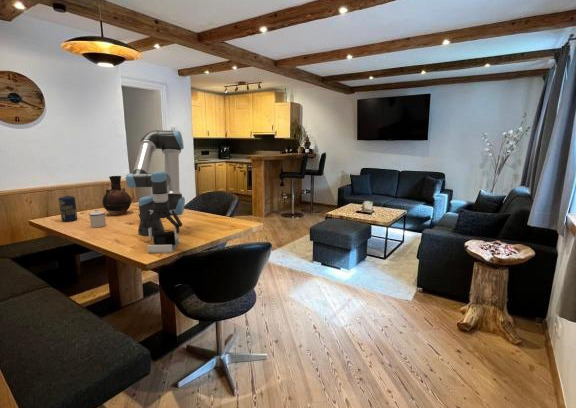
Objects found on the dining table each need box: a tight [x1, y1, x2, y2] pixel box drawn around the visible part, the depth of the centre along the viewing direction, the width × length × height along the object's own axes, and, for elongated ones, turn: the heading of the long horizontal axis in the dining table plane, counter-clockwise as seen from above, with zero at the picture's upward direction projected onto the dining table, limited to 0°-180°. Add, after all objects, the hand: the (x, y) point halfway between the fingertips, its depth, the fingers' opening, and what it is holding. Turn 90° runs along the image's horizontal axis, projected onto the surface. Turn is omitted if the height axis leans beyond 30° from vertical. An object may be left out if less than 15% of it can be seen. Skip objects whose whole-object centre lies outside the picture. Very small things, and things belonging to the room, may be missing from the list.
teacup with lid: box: [88, 208, 107, 229], centre depth 212 cm, size 12×9×12 cm
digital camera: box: [152, 230, 175, 245], centre depth 172 cm, size 10×5×7 cm, turn 125°
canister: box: [58, 195, 78, 222], centre depth 225 cm, size 10×10×18 cm
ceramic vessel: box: [102, 175, 132, 216], centre depth 244 cm, size 21×18×30 cm
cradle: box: [146, 235, 180, 254], centre depth 172 cm, size 12×16×4 cm
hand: (163, 239), depth 172 cm, fingers open, 13 cm apart
